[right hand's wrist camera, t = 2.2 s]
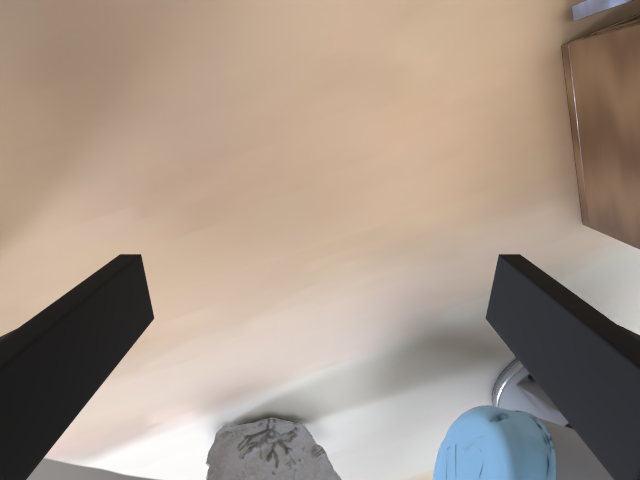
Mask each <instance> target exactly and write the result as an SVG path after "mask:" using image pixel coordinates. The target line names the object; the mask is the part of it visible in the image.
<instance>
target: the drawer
mask: <svg viewBox="0 0 640 480" xmlns="http://www.w3.org/2000/svg"><path fill="white" fill-rule="evenodd" d="M629 1H632V0H586V1H583V2H581V3H578V4H576V5H574V6H572V12H573V21H576V20H579V19H581V18H584V17H587V16H590V15H593V14H596V13H598V12H601V11H604V10H607V9H610V8H612V7H615V6H618V5H621V4H624V3H627V2H629ZM636 23H640V14H639V15H637V16H634V17H632V18H629V19H627V20H624V21H622V22H619V23H617V24H614V25H612V26H610V27H607V28H605V29H602V30H600V31H597V32H595V33H592V34H590V36H593V35H596V34H600V33H604V32H607V31H611V30H614V29H618V28H622V27H625V26H629V25H633V24H636Z"/></svg>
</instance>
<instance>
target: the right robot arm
mask: <svg viewBox="0 0 640 480" xmlns="http://www.w3.org/2000/svg"><path fill="white" fill-rule="evenodd" d="M153 319H154V315H153V310H152V305H151V300H150V296H149V291H148V286H147V281H146V276H145V271H144V266H143V262H142V257H141V254H120V255H119V256H117V257H116V258H115V259H113V260H112V261H110V262H109V263H108V264H106V265H105V266H104V267H102V268H101V269H99V270H98V271H97V272H95V273H94V274H92V275H91V276H90V277H88V278H87V279H86V280H84V281H83V282H81V283H80V284H79V285H77V286H76V287H75V288H73V289H72V290H70V291H69V292H68V293H66V294H65V295H63V296H62V297H61V298H59V299H58V300H57V301H55V302H54V303H52V304H51V305H50V306H48V307H47V308H46V309H44V310H43V311H41V312H40V313H39V314H37V315H36V316H34V317H33V318H32V319H30V320H29V321H28V322H26V323H25V324H23V325H22V326H21V327H19V328H18V329H16V330H14V331H11V332H9V333H7V334H5V335H3V336H1V337H0V480H26V479H27V478H28V477H29V475H30V474H31V473H32V472H33V470H34V469H35V468H36V467H37V465H38V464H39V463H40V462H41V460H42V459H43V458H44V456H45V455H46V454H47V453H48V451H49V450H50V449H51V448H52V446H53V445H54V444H55V443H56V441H57V440H58V439H59V438H60V436H61V435H62V434H63V433H64V431H65V430H66V429H67V428H68V426H69V425H70V424H71V423H72V421H73V420H74V419H75V417H76V416H77V415H78V414H79V412H80V411H81V410H82V409H83V407H84V406H85V405H86V404H87V402H88V401H89V400H90V399H91V397H92V396H93V395H94V394H95V392H96V391H97V390H98V389H99V387H100V386H101V385H102V384H103V382H104V381H105V380H106V378H107V377H108V376H109V375H110V373H111V372H112V371H113V370H114V368H115V367H116V366H117V365H118V363H119V362H120V361H121V360H122V358H123V357H124V356H125V355H126V353H127V352H128V351H129V350H130V348H131V347H132V346H133V344H134V343H135V342H136V341H137V339H138V338H139V337H140V336H141V334H142V333H143V332H144V331H145V329H146V328H147V327H148V326H149V324H150V323H151V322H152V321H153ZM486 319H487V321H488V322H489V323H490V324H491V326H492V327H493V328H494V329H495V331H496V332H497V333H498V334H499V336H500V337H501V338H502V339H503V341H504V342H505V343H506V344H507V346H508V347H509V348H510V350H511V351H512V352H513V353H514V355H515V356H516V357H517V358H518V360H519V361H520V362H521V363H522V365H523V366H524V367H525V368H526V370H527V371H528V372H529V373H530V375H531V376H532V377H533V378H534V380H535V381H536V382H537V384H538V385H539V386H540V387H541V389H542V390H543V391H544V392H545V394H546V395H547V396H548V397H549V399H550V400H551V401H552V402H553V404H554V405H555V406H556V407H557V409H558V410H559V411H560V412H561V414H562V415H563V416H564V417H565V419H566V420H567V421H568V423H569V424H570V425H571V426H572V428H573V429H574V430H575V431H576V433H577V434H578V435H579V436H580V438H581V439H582V440H583V441H584V443H585V444H586V445H587V446H588V448H589V449H590V450H591V451H592V453H593V454H594V455H595V456H596V458H597V459H598V460H599V462H600V463H601V464H602V465H603V467H604V468H605V469H606V470H607V472H608V473H609V474H610V475H611V477H612V478H613V479H614V480H640V335H638V334H636V333H634V332H632V331H630V330H627V329H625V328H623V327H621V326H619V325H617V324H615V323H614V322H612V321H611V320H610V319H608V318H607V317H606V316H604V315H603V314H601V313H600V312H599V311H597V310H596V309H594V308H593V307H592V306H590V305H589V304H588V303H586V302H585V301H583V300H582V299H581V298H579V297H578V296H577V295H575V294H574V293H572V292H571V291H570V290H568V289H567V288H565V287H564V286H563V285H561V284H560V283H559V282H557V281H556V280H554V279H553V278H552V277H550V276H549V275H548V274H546V273H545V272H543V271H542V270H541V269H539V268H538V267H536V266H535V265H534V264H532V263H531V262H530V261H528V260H527V259H525V258H524V257H523V256H521V255H520V254H499V257H498V262H497V266H496V271H495V276H494V281H493V286H492V291H491V296H490V300H489V305H488V310H487V315H486Z"/></svg>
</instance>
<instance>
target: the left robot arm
mask: <svg viewBox="0 0 640 480" xmlns="http://www.w3.org/2000/svg"><path fill="white" fill-rule="evenodd" d="M492 400H493V406H479V407H475V408H473V409H470V410H468V411H467V412H465V413H463V414H462V415H461V416H460V417H459V418H458V419H457V420H456V421H455V422H454V423H453V424H452V426H451V427H450V428H449V430H448V432H447V434H446V436H445V439H444V441H443V442H442V443H441V446H440V449H439V452H438V455H437V459H436V463H435V468H434V476H433V480H614V479H613V478H612V477H611V475H610V474H609V473H608V472H607V470H606V469H605V468H604V467H603V465H602V464H601V463H600V462H599V460H598V459H597V458H596V456H595V455H594V454H593V453H592V451H591V450H590V449H589V448H588V446H587V445H586V444H585V443H584V441H583V440H582V439H581V438H580V436H579V435H578V434H577V433H576V431H575V430H574V429H573V428H572V426H571V425H570V424H569V423H568V421H567V420H566V419H565V417H564V416H563V415H562V414H561V412H560V411H559V410H558V409H557V407H556V406H555V405H554V404H553V402H552V401H551V400H550V399H549V397H548V396H547V395H546V394H545V392H544V391H543V390H542V389H541V387H540V386H539V385H538V384H537V382H536V381H535V380H534V378H533V377H532V376H531V375H530V373H529V372H528V371H527V370H526V368H525V367H524V366H523V365H522V363H521V362H520V361H519V360H518V358H517V359H516V360H514V361H513V362H512V363H511V364H510V365H509V366H508V367H507V368H506V369H505V370H504V371H503V372H502V373H501V375H500V376H499V378H498V380H497V381H496V384H495V386H494V390H493V397H492Z"/></svg>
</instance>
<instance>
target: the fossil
mask: <svg viewBox="0 0 640 480" xmlns="http://www.w3.org/2000/svg"><path fill="white" fill-rule="evenodd" d="M206 464H207V465H208V466H209V469H208V474H207V477H206V480H341V478H340V477H339V475H338V474H337V473H336V472H335V470H334V469H333V467H332V465H331V463H330V461H329V460H328V457H327V455H326V452H325V451H324V449H323V448H322V447H321V446H320V445H317V444H316V442H315V441H314V439H313V437H312V435H311V434H310V432H308V430H307V429H306V427H305V426H304V425H303V424H299V423H295V422H290V421H286V420H280V419H278V418H271V417H270V418H267V419H261V420H259V421H257V422H254V423H246V424H240V425H237V426H231V427H230V426H223V427H222V428H221V429H220V430H219V431H218V432H217V433H216V436H215V441H214V443H213V445H212V447H211V449H210V450H209V453H208V457H207V462H206Z"/></svg>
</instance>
